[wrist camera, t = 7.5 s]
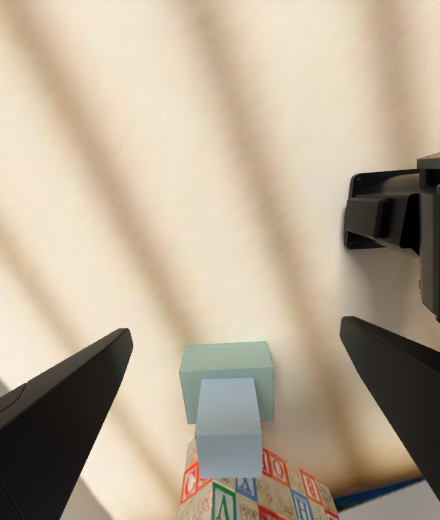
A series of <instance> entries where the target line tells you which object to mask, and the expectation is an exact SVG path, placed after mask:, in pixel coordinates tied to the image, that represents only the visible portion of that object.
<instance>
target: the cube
mask: <svg viewBox="0 0 440 520" xmlns="http://www.w3.org/2000/svg"><path fill="white" fill-rule="evenodd" d="M195 441H196V448H197V455H198V463H199V470H200V477H201V478H262V429H261V422H260V416H259V410H258V403H257V397H256V391H255V384H254V378H222V379H202V381H201V389H200V397H199V405H198V413H197V422H196V430H195Z"/></svg>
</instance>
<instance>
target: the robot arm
mask: <svg viewBox="0 0 440 520" xmlns="http://www.w3.org/2000/svg"><path fill="white" fill-rule="evenodd" d="M358 177H359V178H360V181H359V183H358V182H357V178H358ZM344 228H345V229H346V232H345V242H344V245H345V247H346V248H348V249H367V248H382V247H389V248H392V249H395V250H398V251H400V252H403V253H406V254H409V255H412V256H415V257H418V258H420V281H419V289H420V294H421V299H422V303H423V304H424V305H425V306H426V307H427V308H428V309H429V310H430V311H431V312H432V313H433V314H435V315H436V320H437V321H438V322H439V323H440V152H439V153H436V154H433V155H429V156H426V157H422V158H419V159H417V169H409V170H397V171H384V172H372V173H360V174H355V175H354V176H353V177H352V179H351V185H350V194H349V199H348V200H347V207H346V217H345V227H344ZM350 242H353V244H352V245H351V246H350V245H349V244H350ZM340 338H341V341H342V343H343V345H344V347H345V348H346V350H347V352H348V354H349V356H350V358H351V360H352V362H353V364H354V366H355V368H356V370H357V372H358V374H359V375H360V377H361V379H362V380H363V382H364V384H365V385H366V387H367V388H368V390H369V391H370V393H371V395H372V396H373V398H374V399H375V401H376V402H377V404H378V406H379V407H380V409H381V410H382V412H383V413H384V415H385V416H386V418H387V420H388V421H389V423H390V424H391V426H392V427H393V429H394V431H395V432H396V434H397V435H398V437H399V438H400V440H401V442H402V443H403V445H404V446H405V448H406V449H407V451H408V453H409V454H410V456H411V457H412V459H413V460H414V462H415V464H416V465H417V467H418V468H419V470H420V471H421V473H422V475H423V476H424V478H425V479H426V481H427V482H428V484H429V485H430V487H431V489H432V490H433V492H434V493H435V495H436V497H437V498H438V500H439V501H440V352H438V351H436V350H433V349H431V348H428V347H426V346H424V345H421V344H419V343H417V342H414V341H412V340H409V339H407V338H405V337H402V336H400V335H397V334H395V333H393V332H390V331H388V330H385V329H383V328H381V327H378V326H376V325H373V324H371V323H369V322H366V321H364V320H362V319H359V318H357V317H354V316H344V317H342V319H341V326H340ZM132 350H133V341H132V337H131V333H130V330H129V329H128V328H119V329H117V330H115V331H114V332H112V333H110V334H108V335H107V336H105V337H103V338H102V339H100V340H98V341H96V342H95V343H93V344H91V345H89V346H88V347H86V348H84V349H83V350H81V351H79V352H77V353H76V354H74V355H72V356H71V357H69V358H67V359H65V360H64V361H62V362H60V363H59V364H57V365H55V366H53V367H52V368H50V369H48V370H47V371H45V372H43V373H41V374H40V375H38V376H36V377H34V378H33V379H31V380H29V381H28V382H27V383H24V384H22V385H21V386H19V387H17V388H15V389H14V390H12V391H10V392H9V393H7V394H5V395H3V396H2V397H0V520H60V517H61V515H62V513H63V511H64V509H65V507H66V504H67V502H68V500H69V498H70V496H71V493H72V491H73V489H74V487H75V485H76V482H77V480H78V478H79V476H80V474H81V471H82V469H83V467H84V465H85V463H86V460H87V458H88V456H89V454H90V451H91V449H92V447H93V445H94V443H95V440H96V438H97V436H98V434H99V432H100V429H101V427H102V425H103V423H104V421H105V418H106V416H107V414H108V412H109V410H110V407H111V405H112V403H113V401H114V399H115V396H116V394H117V392H118V390H119V387H120V385H121V382H122V380H123V377H124V374H125V371H126V368H127V365H128V362H129V359H130V356H131V353H132Z"/></svg>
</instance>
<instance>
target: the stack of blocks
mask: <svg viewBox="0 0 440 520" xmlns="http://www.w3.org/2000/svg"><path fill="white" fill-rule="evenodd" d="M177 520H339V517H338V513H337V510H336V507H335V504H334V502H333V499H332V497H331V494H330V491H329V488H328V487H327V486H325V485H324V484H322V483H320V482H319V481H317V480H316V479H314V478H313V477H312V476H310V475H308V474H307V473H305V472H303V471H302V470H300V469H299V468H297V467H295V466H294V465H292V464H291V463H289V462H287V461H285V460H282V459H281V458H279V457H277V456H276V455H274V454H272V453H271V452H269V451H267V450H265V449H264V448H262V478H201V477H200V470H199V463H198V455H197V448H196V441H195V438H194V439H193V440H192V441H191V442H190V443H189V445H188V451H187V458H186V466H185V472H184V478H183V485H182V492H181V501H180V507H179V510H178V516H177Z"/></svg>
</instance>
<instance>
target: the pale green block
mask: <svg viewBox="0 0 440 520" xmlns="http://www.w3.org/2000/svg"><path fill="white" fill-rule="evenodd" d="M179 375H180V381H181V386H182V392H183V398H184V403H185V409H186V415H187V421H188V424H196V422H197V413H198V405H199V397H200V389H201V381H202V379H222V378H254V384H255V391H256V397H257V403H258V410H259V416H260V421H274V392H273V364H272V361H271V357H270V353H269V350H268V346H267V343H266V341H261V342H242V343H224V344H205V345H186V346H185V350H184V354H183V358H182V362H181V365H180V369H179Z"/></svg>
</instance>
